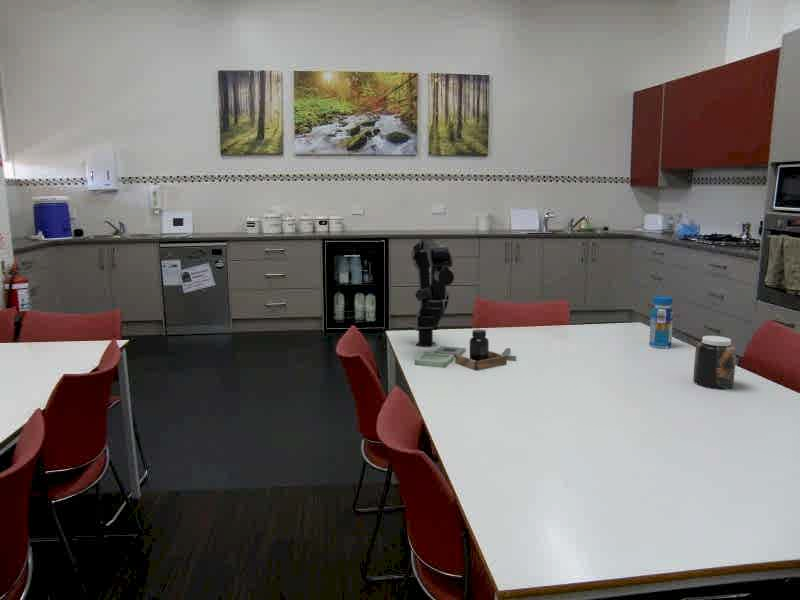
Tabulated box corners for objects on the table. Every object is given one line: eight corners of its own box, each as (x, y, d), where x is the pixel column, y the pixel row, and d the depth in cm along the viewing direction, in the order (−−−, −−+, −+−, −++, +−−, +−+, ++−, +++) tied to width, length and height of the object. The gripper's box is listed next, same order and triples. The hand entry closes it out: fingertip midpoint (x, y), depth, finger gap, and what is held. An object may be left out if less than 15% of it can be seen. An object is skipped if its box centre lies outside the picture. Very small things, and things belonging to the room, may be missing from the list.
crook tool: (506, 352, 249) (506, 348, 249) (520, 353, 248) (521, 349, 247) (500, 359, 238) (500, 355, 238) (515, 361, 236) (515, 356, 236)
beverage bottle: (644, 345, 259) (647, 296, 255) (659, 342, 262) (662, 294, 259) (660, 349, 251) (663, 299, 248) (676, 347, 255) (679, 297, 251)
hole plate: (440, 348, 254) (440, 346, 254) (465, 351, 251) (465, 348, 251) (433, 355, 245) (433, 352, 245) (458, 357, 242) (458, 354, 242)
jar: (691, 386, 206) (695, 340, 203) (694, 376, 216) (697, 333, 213) (733, 391, 200) (737, 344, 198) (733, 381, 211) (737, 336, 208)
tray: (424, 356, 243) (424, 352, 243) (454, 359, 239) (454, 354, 239) (414, 364, 232) (414, 359, 232) (445, 367, 228) (445, 362, 228)
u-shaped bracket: (455, 362, 234) (455, 354, 234) (484, 357, 242) (484, 349, 241) (476, 370, 225) (476, 362, 224) (506, 364, 232) (506, 356, 231)
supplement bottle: (488, 360, 237) (488, 328, 235) (488, 365, 230) (489, 333, 228) (469, 360, 238) (469, 328, 236) (469, 365, 231) (469, 332, 229)
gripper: (421, 276, 249) (421, 316, 252) (412, 284, 231) (412, 327, 234) (450, 277, 247) (449, 317, 250) (443, 285, 229) (442, 328, 232)
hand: (438, 322), depth 241 cm, fingers open, 9 cm apart
